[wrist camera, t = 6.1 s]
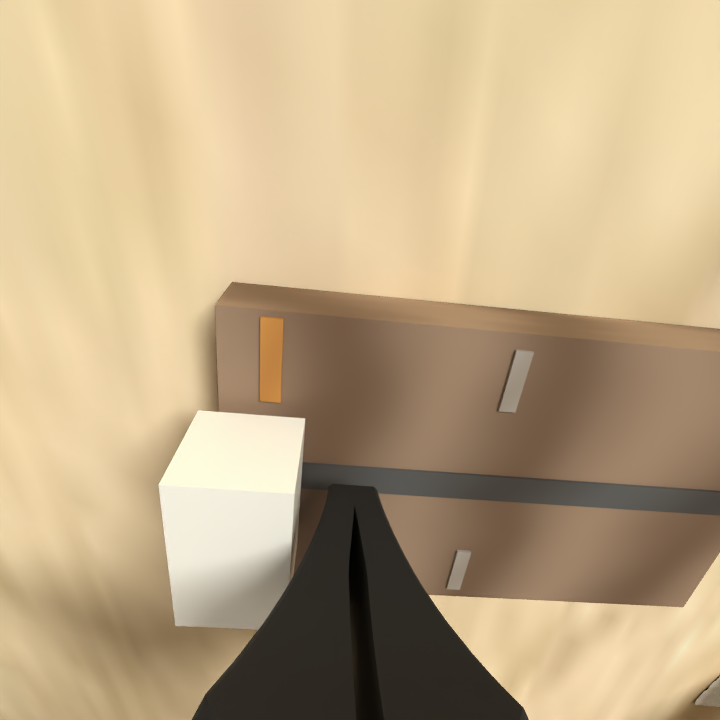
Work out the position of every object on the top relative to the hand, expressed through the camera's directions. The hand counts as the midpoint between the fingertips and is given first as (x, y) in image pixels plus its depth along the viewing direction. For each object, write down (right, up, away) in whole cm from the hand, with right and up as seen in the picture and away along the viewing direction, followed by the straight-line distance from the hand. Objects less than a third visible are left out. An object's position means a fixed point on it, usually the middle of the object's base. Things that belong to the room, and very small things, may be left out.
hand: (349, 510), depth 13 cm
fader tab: (-3, +1, +1) cm, 3 cm away
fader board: (+5, +1, +3) cm, 6 cm away
